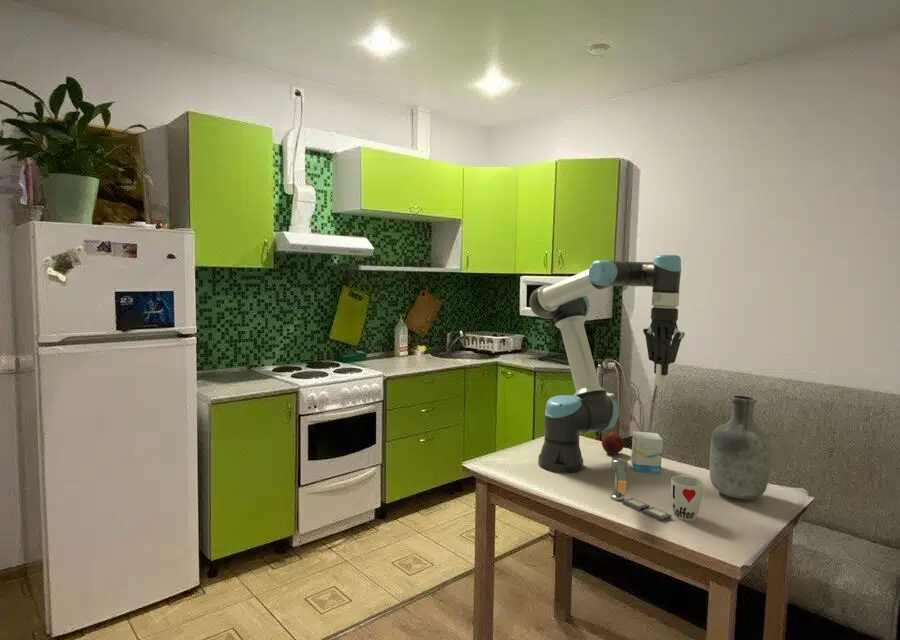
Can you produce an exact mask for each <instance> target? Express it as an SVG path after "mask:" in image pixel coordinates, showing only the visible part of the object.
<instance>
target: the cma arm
mask: <svg viewBox="0 0 900 640" xmlns="http://www.w3.org/2000/svg"><path fill="white" fill-rule="evenodd" d="M628 462H629V461H628V459H626V458H622V457H612V459H611V467H610V468H611V470H612V471H613V472H615V471H616V477H617V488H618V492H619V493H622V494H626V493H627V479H626V478H627V477H626V473H627V472H628V466H629V465H628Z"/></svg>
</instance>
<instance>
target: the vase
mask: <svg viewBox="0 0 900 640" xmlns="http://www.w3.org/2000/svg"><path fill="white" fill-rule="evenodd" d="M730 401H732V414H731V418H730V419H729V420H728V421H727V422H726V423H723V424H722V423H721V424H720V425H718V426H716V427H715V428H714V429H713V431H712V433H711V440H710V449H709V478H710V483H711V485H712V487H714V489H715V490H717V491H719V493H721V494H724V495H725V496H727V497H731V498H733V499H738V500H752V499H756V498H759V497H761V496H762V495H763V494H764V493H765V492H766V490H767V486H768V483H769V479H770V470H771V459H772V457H771V456H772V442H771V437H770V436H769V434H768V433H767V432H765V431H764V430H763V429H761V428H759V427H758V426H757V425H756V423H755V421H754V410H755V404H757V402H758V401H757V398H755V397H753V396H749V395H741V394H740V395H739V394H738V395H737V394H736V395H733V394H732V395H731V396H730Z"/></svg>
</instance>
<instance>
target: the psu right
mask: <svg viewBox="0 0 900 640" xmlns="http://www.w3.org/2000/svg"><path fill="white" fill-rule="evenodd" d="M642 514H644V515H646V516H648V517H650V518H653V519H655V520H657V521H659V522H665V521H669V520H672V514H670V513H667V512H665V511H663V510H661V509H658V508H656V507H654V506H651V507H650V508H647V509H644V510H643V511H642Z"/></svg>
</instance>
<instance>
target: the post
mask: <svg viewBox="0 0 900 640" xmlns="http://www.w3.org/2000/svg"><path fill="white" fill-rule="evenodd" d="M614 474H615V475H614V489H613V493H611V494H610V499H611V500H613V501H615V502H623V500H626V496H625V494H624V493H619V492H618V488H617V477H616V471H614Z"/></svg>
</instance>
